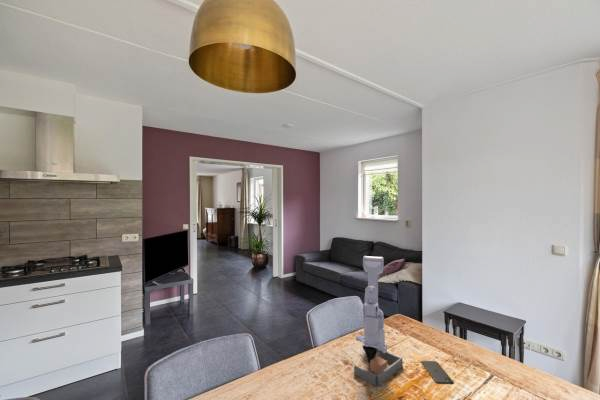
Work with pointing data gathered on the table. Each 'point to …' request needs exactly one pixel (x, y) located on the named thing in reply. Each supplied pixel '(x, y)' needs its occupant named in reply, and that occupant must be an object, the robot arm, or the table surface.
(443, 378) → the smartphone
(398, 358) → the box
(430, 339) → the table surface
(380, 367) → the terracotta block
